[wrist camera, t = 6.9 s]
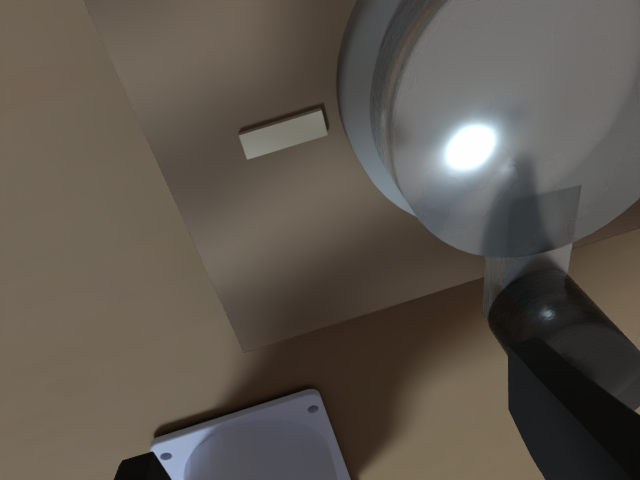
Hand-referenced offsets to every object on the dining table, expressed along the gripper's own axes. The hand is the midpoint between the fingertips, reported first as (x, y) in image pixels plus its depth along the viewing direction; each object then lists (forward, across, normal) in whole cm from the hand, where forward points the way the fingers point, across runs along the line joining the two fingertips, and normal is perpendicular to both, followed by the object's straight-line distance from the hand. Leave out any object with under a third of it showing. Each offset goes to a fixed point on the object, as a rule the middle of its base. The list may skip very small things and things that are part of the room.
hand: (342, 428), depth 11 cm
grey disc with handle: (+7, -7, -1) cm, 10 cm away
